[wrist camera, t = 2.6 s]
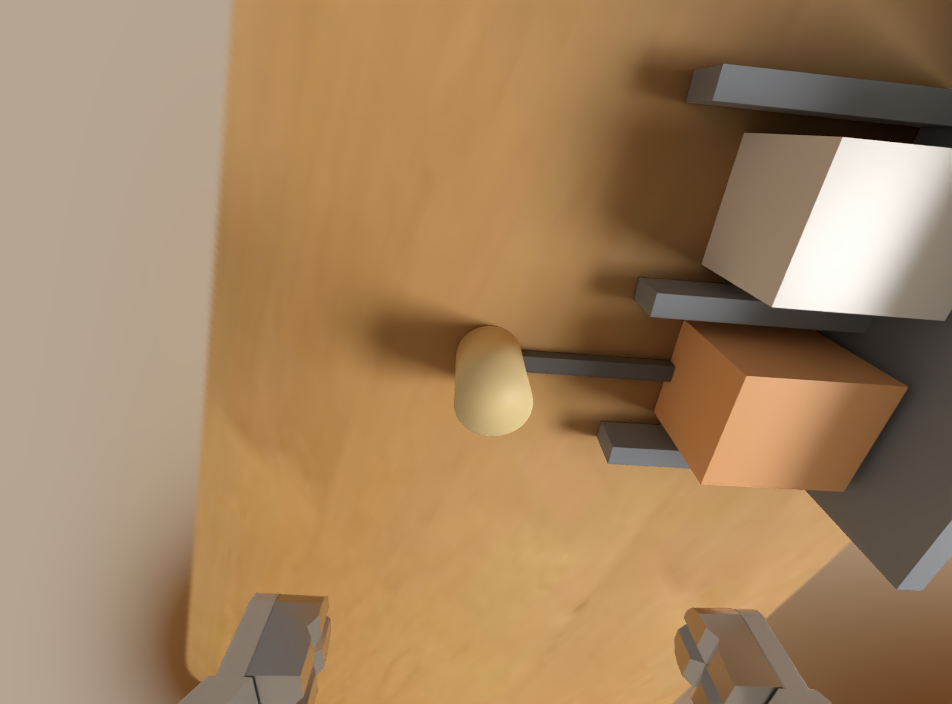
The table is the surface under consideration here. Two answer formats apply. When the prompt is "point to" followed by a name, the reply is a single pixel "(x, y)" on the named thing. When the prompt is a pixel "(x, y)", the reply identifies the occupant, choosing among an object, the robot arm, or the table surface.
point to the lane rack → (840, 340)
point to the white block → (838, 225)
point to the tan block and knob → (712, 399)
